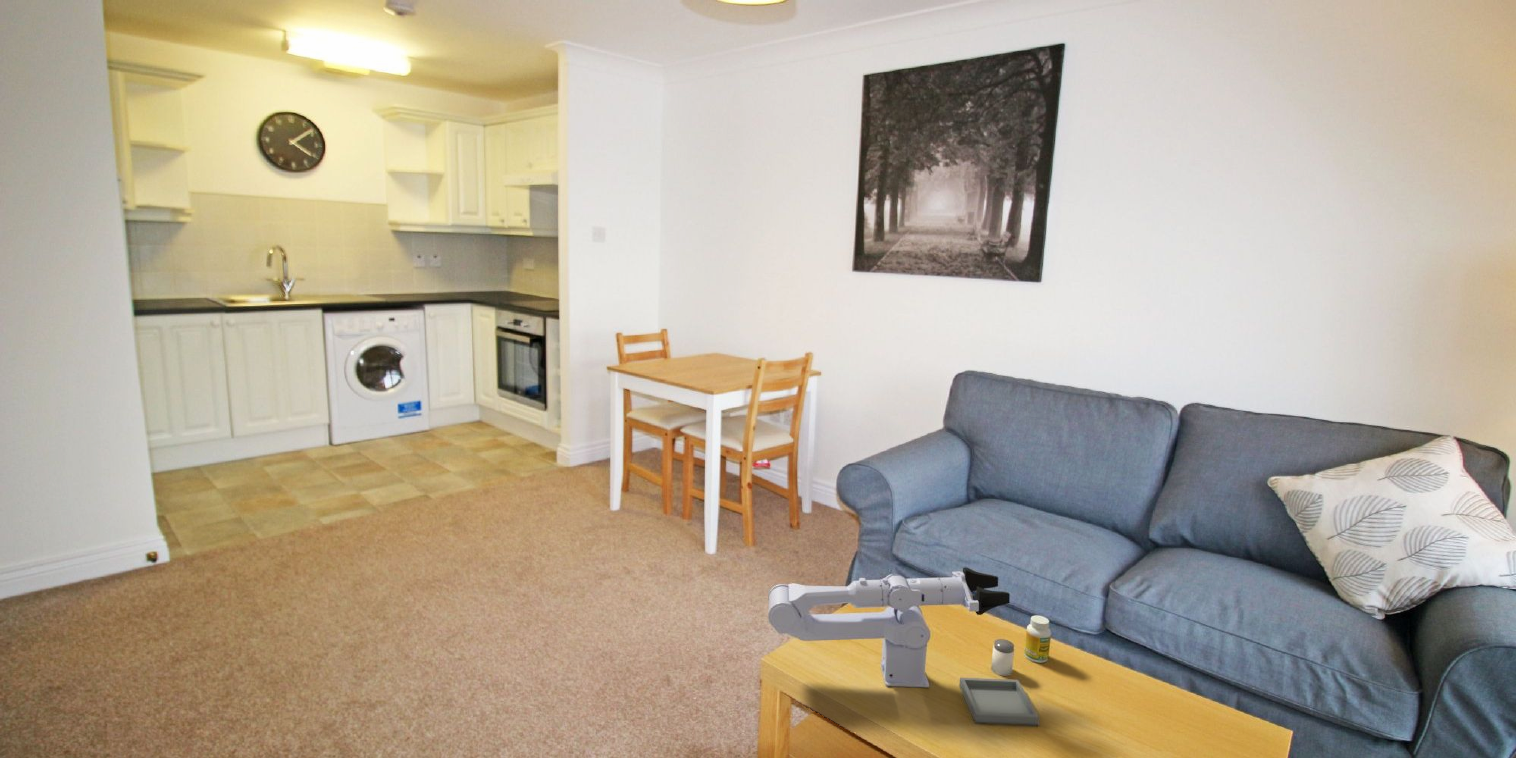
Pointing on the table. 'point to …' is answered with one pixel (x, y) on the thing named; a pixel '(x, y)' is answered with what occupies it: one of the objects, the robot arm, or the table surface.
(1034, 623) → the supplement bottle
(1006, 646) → the cylinder
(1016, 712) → the tray
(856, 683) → the table surface
